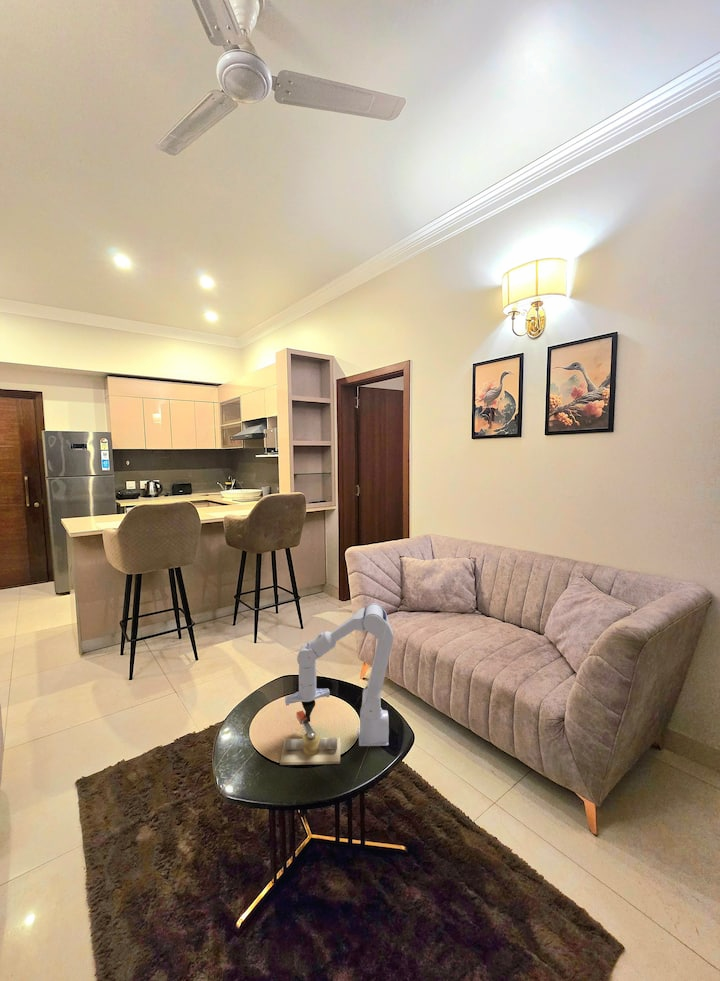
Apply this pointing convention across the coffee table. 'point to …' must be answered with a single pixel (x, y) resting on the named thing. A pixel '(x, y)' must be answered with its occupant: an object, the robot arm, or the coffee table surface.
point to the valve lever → (305, 724)
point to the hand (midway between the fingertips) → (307, 720)
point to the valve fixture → (310, 751)
